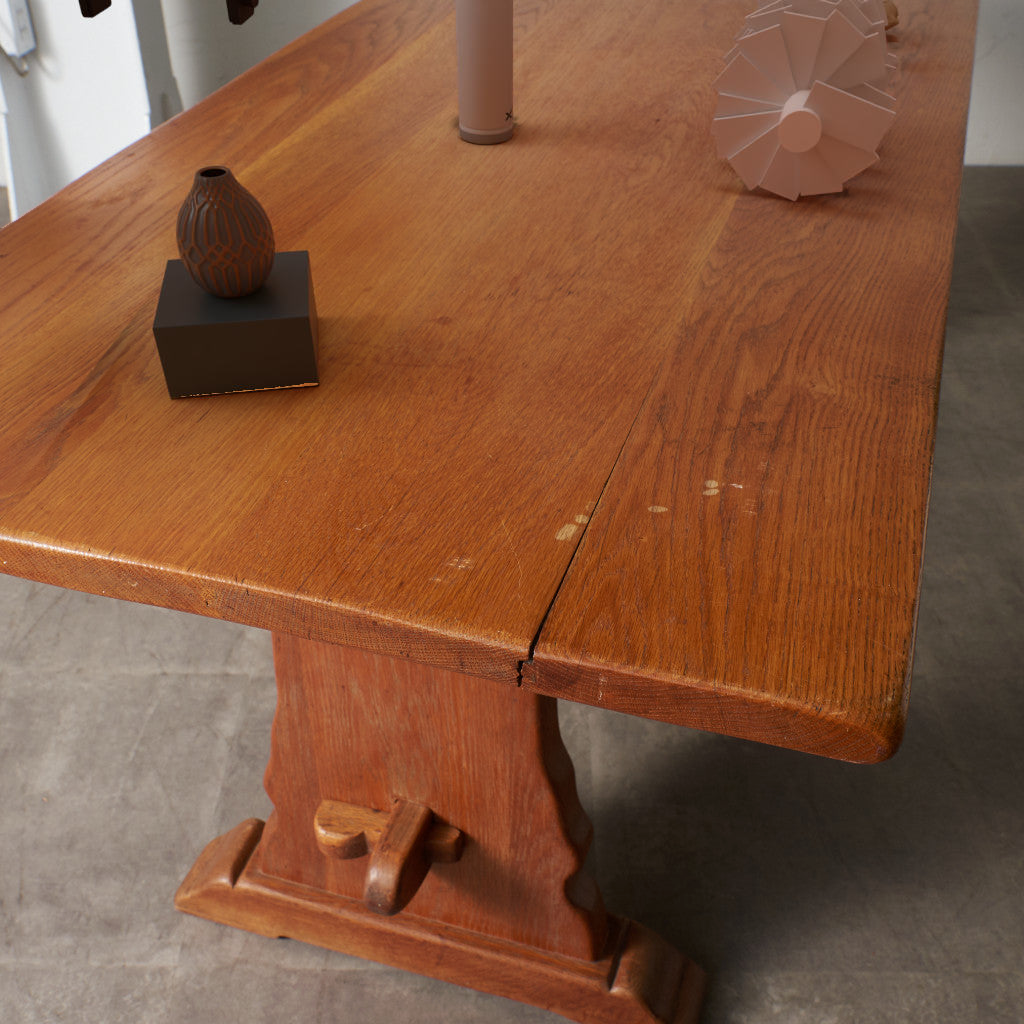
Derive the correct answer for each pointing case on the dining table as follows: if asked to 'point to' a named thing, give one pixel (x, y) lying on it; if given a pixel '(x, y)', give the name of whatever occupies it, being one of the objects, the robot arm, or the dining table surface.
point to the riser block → (238, 331)
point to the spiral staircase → (805, 95)
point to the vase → (224, 235)
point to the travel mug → (485, 70)
